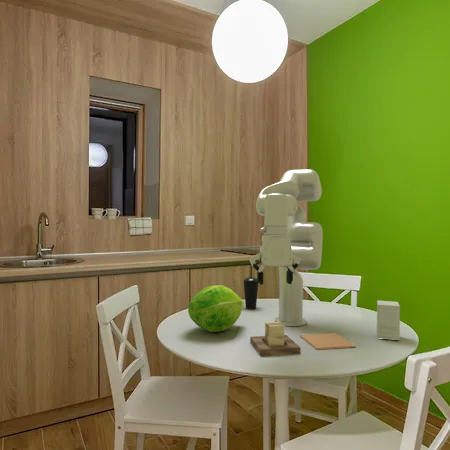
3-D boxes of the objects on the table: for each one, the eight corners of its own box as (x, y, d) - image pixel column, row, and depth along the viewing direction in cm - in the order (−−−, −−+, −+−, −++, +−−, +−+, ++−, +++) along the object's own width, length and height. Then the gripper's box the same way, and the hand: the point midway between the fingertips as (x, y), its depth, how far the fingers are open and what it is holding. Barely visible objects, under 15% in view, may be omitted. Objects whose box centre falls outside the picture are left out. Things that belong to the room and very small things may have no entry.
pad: (300, 336, 140) (300, 334, 140) (336, 334, 142) (336, 333, 142) (316, 349, 126) (316, 348, 126) (355, 347, 128) (355, 345, 128)
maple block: (264, 345, 129) (265, 322, 129) (279, 345, 130) (279, 321, 130) (269, 351, 124) (269, 326, 124) (284, 350, 125) (284, 325, 125)
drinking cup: (240, 306, 184) (240, 265, 184) (255, 305, 186) (255, 264, 186) (245, 310, 177) (246, 267, 176) (261, 309, 179) (261, 266, 179)
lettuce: (259, 330, 146) (260, 285, 146) (204, 343, 131) (205, 293, 131) (229, 319, 161) (229, 279, 161) (176, 330, 146) (177, 285, 145)
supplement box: (397, 335, 142) (398, 301, 141) (399, 341, 135) (400, 305, 134) (376, 333, 144) (376, 299, 144) (376, 339, 137) (377, 304, 137)
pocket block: (250, 342, 133) (250, 336, 132) (286, 340, 135) (286, 334, 135) (260, 356, 120) (260, 349, 120) (300, 353, 122) (300, 347, 122)
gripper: (253, 231, 121) (252, 286, 121) (305, 232, 124) (304, 285, 125) (247, 231, 128) (246, 282, 129) (296, 231, 132) (295, 281, 132)
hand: (275, 283), depth 127 cm, fingers open, 9 cm apart
